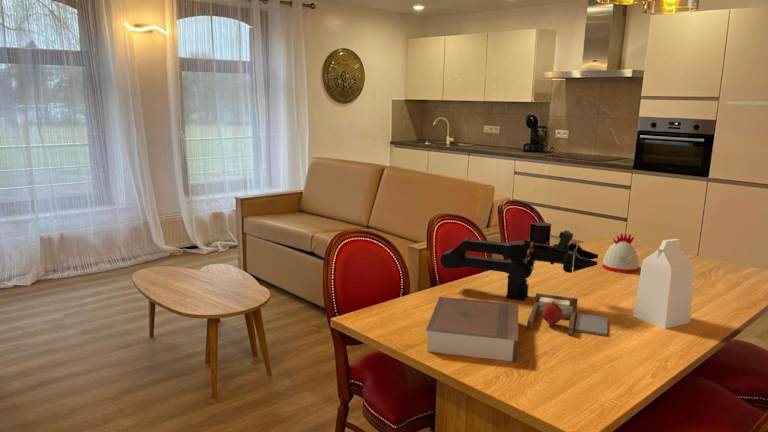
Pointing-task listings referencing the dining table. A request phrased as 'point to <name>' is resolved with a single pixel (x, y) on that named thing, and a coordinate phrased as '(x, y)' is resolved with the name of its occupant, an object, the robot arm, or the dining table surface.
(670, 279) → the milk
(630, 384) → the dining table surface
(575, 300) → the rack
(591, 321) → the slate board
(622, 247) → the knit hat
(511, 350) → the book
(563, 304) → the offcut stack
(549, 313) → the onion
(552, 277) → the dining table surface
